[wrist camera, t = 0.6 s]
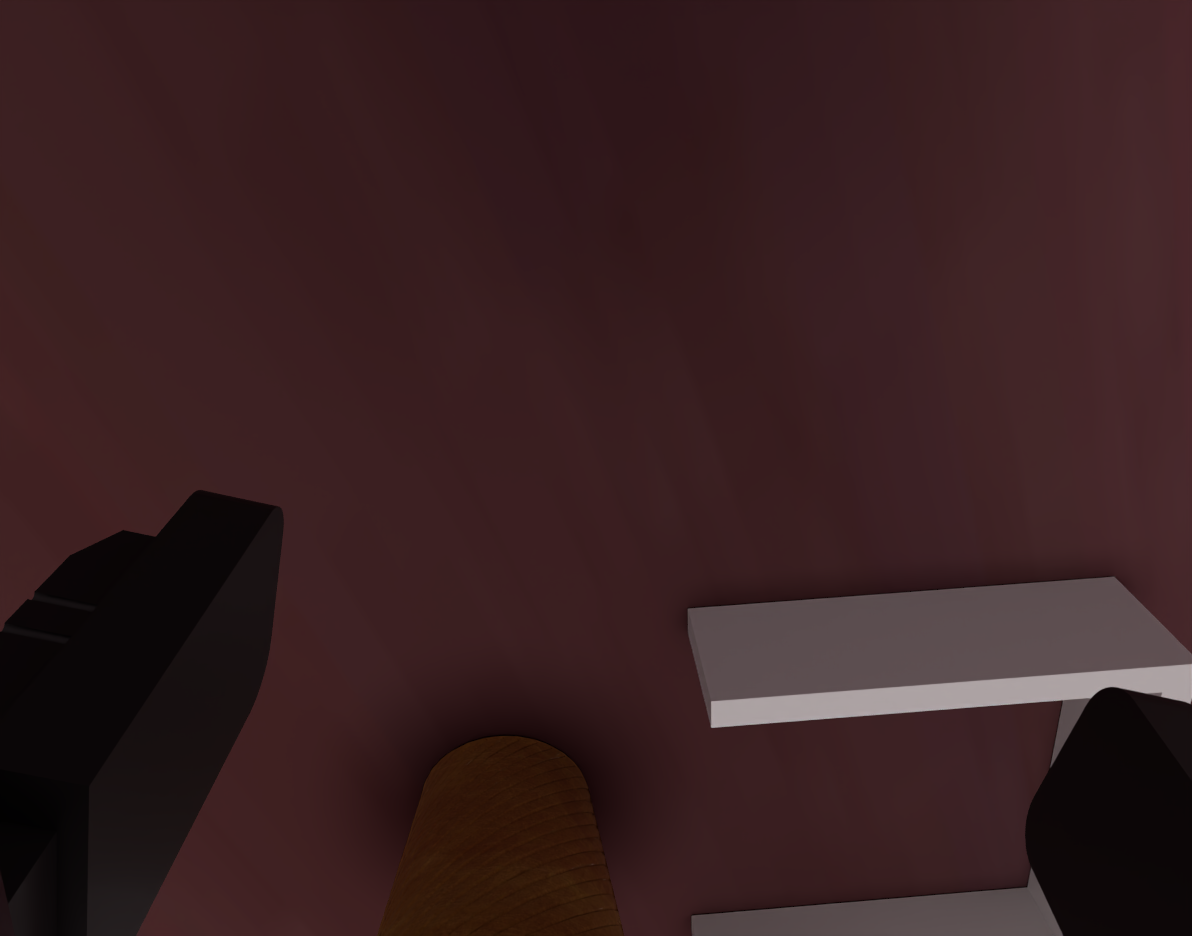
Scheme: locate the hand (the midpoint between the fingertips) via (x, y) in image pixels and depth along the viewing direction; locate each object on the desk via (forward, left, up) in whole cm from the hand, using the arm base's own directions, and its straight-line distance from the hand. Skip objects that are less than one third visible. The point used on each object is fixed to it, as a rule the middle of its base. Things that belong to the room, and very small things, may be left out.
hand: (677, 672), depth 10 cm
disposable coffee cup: (+21, -4, -21) cm, 30 cm away
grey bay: (+21, +10, -21) cm, 32 cm away
